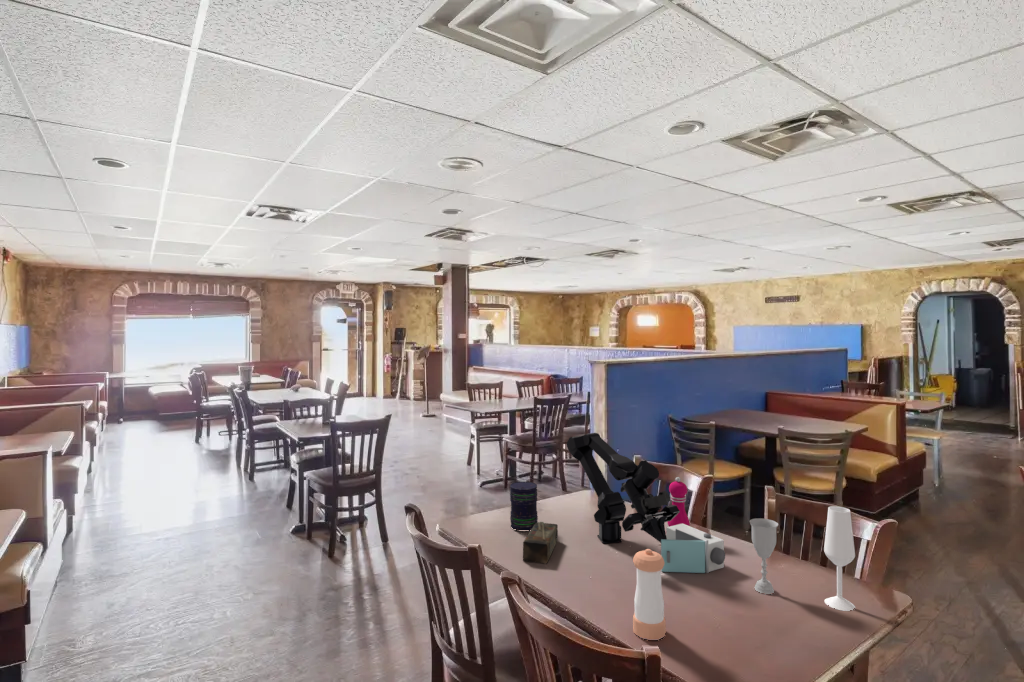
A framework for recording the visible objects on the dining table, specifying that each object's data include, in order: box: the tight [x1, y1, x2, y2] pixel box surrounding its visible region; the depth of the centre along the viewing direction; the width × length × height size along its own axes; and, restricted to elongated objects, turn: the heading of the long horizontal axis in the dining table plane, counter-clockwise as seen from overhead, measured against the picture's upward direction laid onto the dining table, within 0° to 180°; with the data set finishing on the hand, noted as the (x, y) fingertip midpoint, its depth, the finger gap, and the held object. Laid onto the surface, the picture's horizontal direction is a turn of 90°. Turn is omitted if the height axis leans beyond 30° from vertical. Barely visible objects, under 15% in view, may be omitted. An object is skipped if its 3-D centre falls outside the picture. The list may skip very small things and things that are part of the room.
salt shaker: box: [632, 548, 667, 639], centre depth 124 cm, size 7×7×19 cm
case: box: [665, 523, 726, 574], centre depth 162 cm, size 18×7×9 cm, turn 28°
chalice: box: [749, 517, 779, 595], centre depth 143 cm, size 7×7×18 cm
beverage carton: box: [522, 521, 559, 565], centre depth 171 cm, size 8×19×7 cm, turn 165°
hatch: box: [660, 539, 706, 574], centre depth 154 cm, size 12×2×9 cm, turn 83°
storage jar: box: [509, 481, 539, 530], centre depth 193 cm, size 10×10×15 cm
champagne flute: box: [823, 505, 856, 612], centre depth 135 cm, size 7×7×24 cm
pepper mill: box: [666, 476, 691, 527], centre depth 182 cm, size 7×7×20 cm
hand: (665, 544), depth 157 cm, fingers closed
